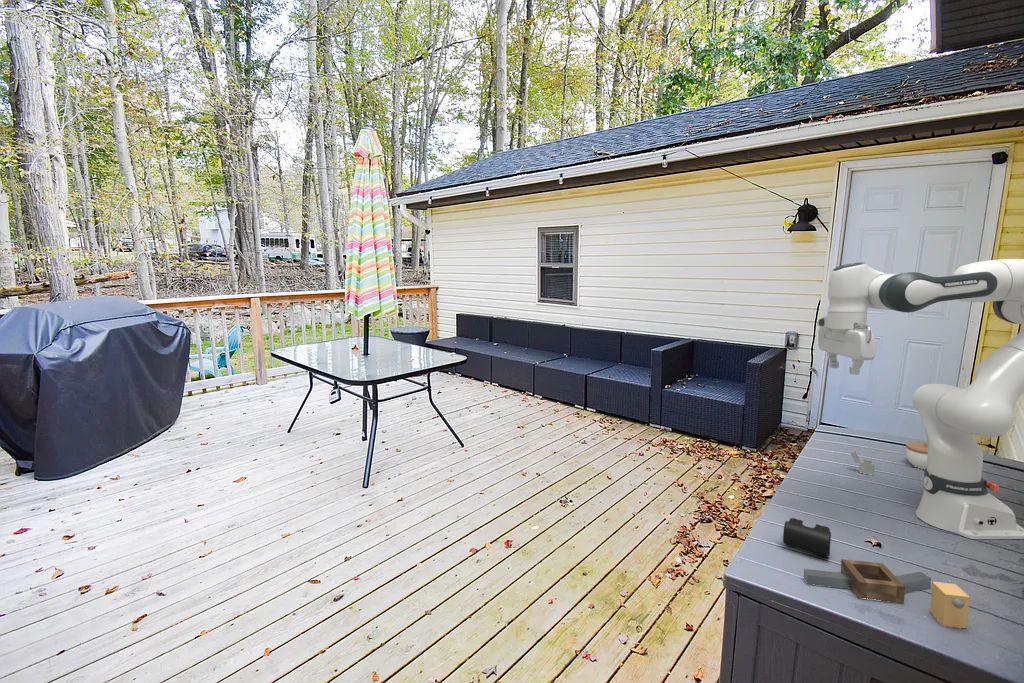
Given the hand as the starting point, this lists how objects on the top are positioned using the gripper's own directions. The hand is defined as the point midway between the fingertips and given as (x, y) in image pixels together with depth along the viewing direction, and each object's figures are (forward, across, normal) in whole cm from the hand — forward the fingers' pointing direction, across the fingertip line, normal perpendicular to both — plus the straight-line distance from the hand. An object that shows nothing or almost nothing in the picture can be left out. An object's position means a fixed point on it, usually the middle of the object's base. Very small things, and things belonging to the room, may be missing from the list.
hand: (843, 371), depth 125 cm
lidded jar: (+45, +41, -52) cm, 80 cm away
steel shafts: (+45, -29, +9) cm, 54 cm away
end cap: (+45, -16, +16) cm, 50 cm away
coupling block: (+45, -40, 0) cm, 60 cm away
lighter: (+45, +35, -27) cm, 63 cm away
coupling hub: (+45, -31, +9) cm, 55 cm away
